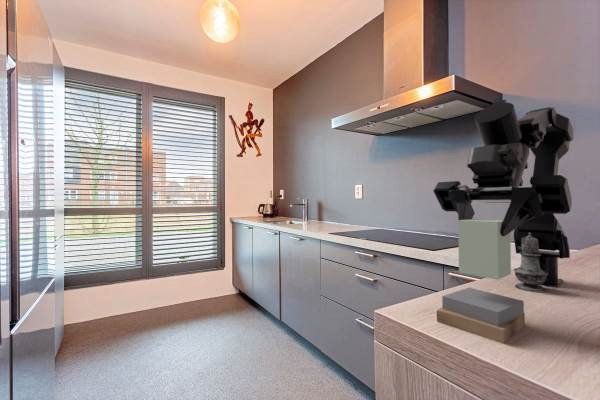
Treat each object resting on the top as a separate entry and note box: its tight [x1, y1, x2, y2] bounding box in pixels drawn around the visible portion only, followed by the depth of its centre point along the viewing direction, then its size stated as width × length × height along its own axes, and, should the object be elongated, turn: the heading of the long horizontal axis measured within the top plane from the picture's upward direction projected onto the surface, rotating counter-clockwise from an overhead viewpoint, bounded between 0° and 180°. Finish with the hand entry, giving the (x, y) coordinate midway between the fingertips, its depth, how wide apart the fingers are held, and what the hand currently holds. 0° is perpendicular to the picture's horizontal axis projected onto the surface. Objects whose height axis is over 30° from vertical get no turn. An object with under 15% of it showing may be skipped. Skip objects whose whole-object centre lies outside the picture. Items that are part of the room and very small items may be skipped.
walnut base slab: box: [436, 306, 526, 345], centre depth 44 cm, size 9×9×2 cm
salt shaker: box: [512, 232, 548, 293], centre depth 61 cm, size 6×6×12 cm
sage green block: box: [457, 218, 512, 281], centre depth 46 cm, size 6×6×8 cm
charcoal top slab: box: [441, 287, 525, 327], centre depth 45 cm, size 8×8×2 cm
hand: (480, 232), depth 45 cm, fingers closed on sage green block, 5 cm apart
